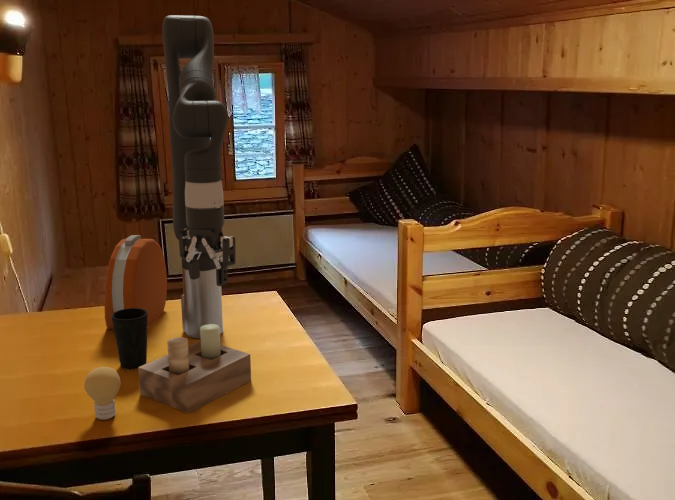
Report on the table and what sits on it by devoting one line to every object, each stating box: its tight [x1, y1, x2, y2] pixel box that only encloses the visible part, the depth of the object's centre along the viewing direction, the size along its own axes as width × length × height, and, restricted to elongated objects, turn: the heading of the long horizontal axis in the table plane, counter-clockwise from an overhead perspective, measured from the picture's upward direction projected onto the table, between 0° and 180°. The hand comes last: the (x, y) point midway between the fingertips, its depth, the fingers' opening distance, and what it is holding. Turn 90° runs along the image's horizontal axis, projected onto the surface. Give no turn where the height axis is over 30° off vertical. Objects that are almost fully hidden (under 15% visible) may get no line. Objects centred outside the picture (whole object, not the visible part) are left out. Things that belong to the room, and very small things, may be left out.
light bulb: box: [84, 366, 121, 421], centre depth 134 cm, size 6×6×10 cm
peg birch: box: [166, 336, 189, 375], centre depth 142 cm, size 4×4×7 cm
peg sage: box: [200, 324, 221, 360], centre depth 149 cm, size 4×4×7 cm
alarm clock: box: [104, 234, 168, 330], centre depth 183 cm, size 22×10×23 cm, turn 172°
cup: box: [111, 308, 148, 370], centre depth 157 cm, size 8×8×12 cm
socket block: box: [137, 339, 252, 414], centre depth 146 cm, size 14×18×6 cm
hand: (208, 281), depth 145 cm, fingers open, 7 cm apart
